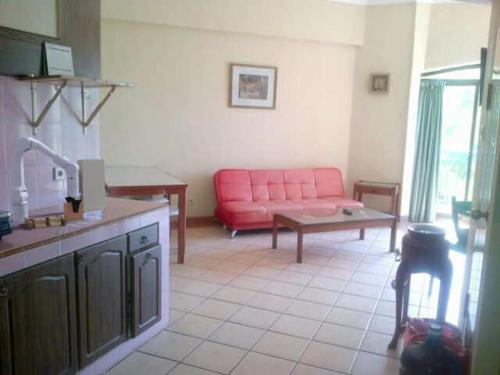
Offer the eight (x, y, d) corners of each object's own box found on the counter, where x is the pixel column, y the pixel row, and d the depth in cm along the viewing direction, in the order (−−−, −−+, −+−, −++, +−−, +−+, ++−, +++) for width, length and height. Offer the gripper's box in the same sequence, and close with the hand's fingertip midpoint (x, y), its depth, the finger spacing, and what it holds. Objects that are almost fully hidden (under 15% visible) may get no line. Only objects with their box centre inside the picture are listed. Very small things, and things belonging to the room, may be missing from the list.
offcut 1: (33, 227, 222) (33, 219, 221) (44, 225, 225) (44, 217, 224) (35, 228, 220) (34, 220, 219) (46, 226, 223) (45, 219, 222)
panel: (64, 219, 238) (63, 203, 237) (81, 218, 244) (81, 201, 242) (65, 221, 236) (65, 204, 235) (83, 219, 241) (82, 202, 240)
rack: (24, 224, 229) (24, 217, 229) (57, 220, 239) (57, 214, 238) (31, 230, 217) (31, 223, 217) (66, 226, 227) (65, 219, 227)
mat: (58, 219, 242) (58, 218, 242) (81, 216, 249) (81, 215, 249) (65, 224, 231) (65, 223, 231) (89, 221, 238) (89, 220, 238)
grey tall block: (100, 208, 275) (99, 158, 270) (105, 209, 271) (104, 159, 267) (78, 211, 264) (76, 159, 259) (83, 212, 260) (82, 160, 256)
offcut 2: (48, 225, 226) (48, 217, 226) (59, 224, 229) (59, 216, 229) (50, 226, 224) (50, 218, 223) (61, 225, 227) (60, 217, 226)
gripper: (84, 187, 234) (85, 212, 236) (76, 183, 245) (77, 208, 247) (70, 188, 230) (71, 214, 232) (62, 184, 241) (63, 209, 243)
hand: (73, 211), depth 239 cm, fingers open, 7 cm apart
